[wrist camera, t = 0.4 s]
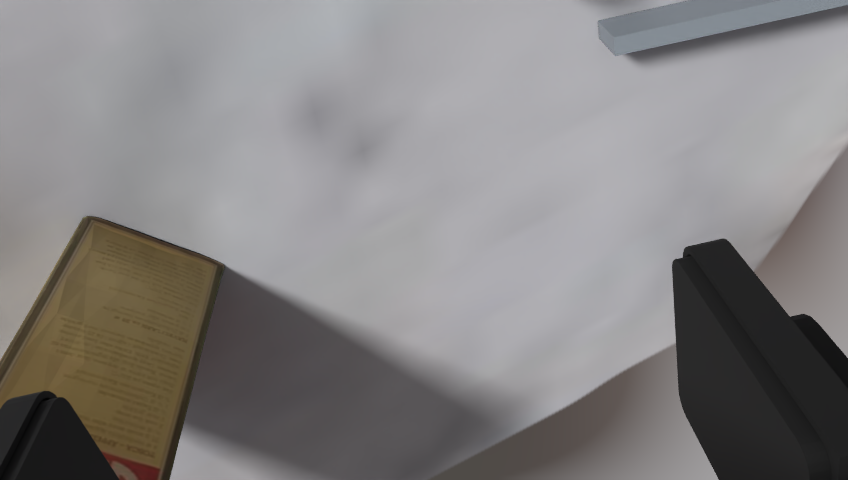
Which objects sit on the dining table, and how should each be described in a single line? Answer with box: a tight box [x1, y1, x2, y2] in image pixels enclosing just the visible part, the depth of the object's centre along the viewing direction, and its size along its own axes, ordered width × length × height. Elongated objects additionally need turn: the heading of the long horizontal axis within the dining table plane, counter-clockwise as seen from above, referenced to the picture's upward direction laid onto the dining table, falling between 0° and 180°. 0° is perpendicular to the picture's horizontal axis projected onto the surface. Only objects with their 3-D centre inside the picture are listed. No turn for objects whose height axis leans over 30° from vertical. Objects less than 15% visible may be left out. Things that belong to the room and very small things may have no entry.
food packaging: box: [0, 216, 225, 480], centre depth 38 cm, size 13×9×25 cm
